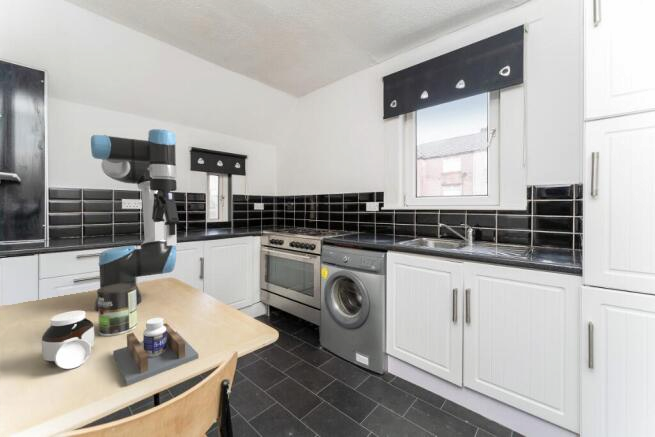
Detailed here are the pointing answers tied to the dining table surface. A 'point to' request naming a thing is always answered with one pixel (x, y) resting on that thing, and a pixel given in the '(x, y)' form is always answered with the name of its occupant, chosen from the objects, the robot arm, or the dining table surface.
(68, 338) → the spread jar
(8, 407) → the dining table surface
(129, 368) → the plate
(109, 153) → the robot arm
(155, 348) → the pill bottle
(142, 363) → the wooden rail pair
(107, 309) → the coffee can
